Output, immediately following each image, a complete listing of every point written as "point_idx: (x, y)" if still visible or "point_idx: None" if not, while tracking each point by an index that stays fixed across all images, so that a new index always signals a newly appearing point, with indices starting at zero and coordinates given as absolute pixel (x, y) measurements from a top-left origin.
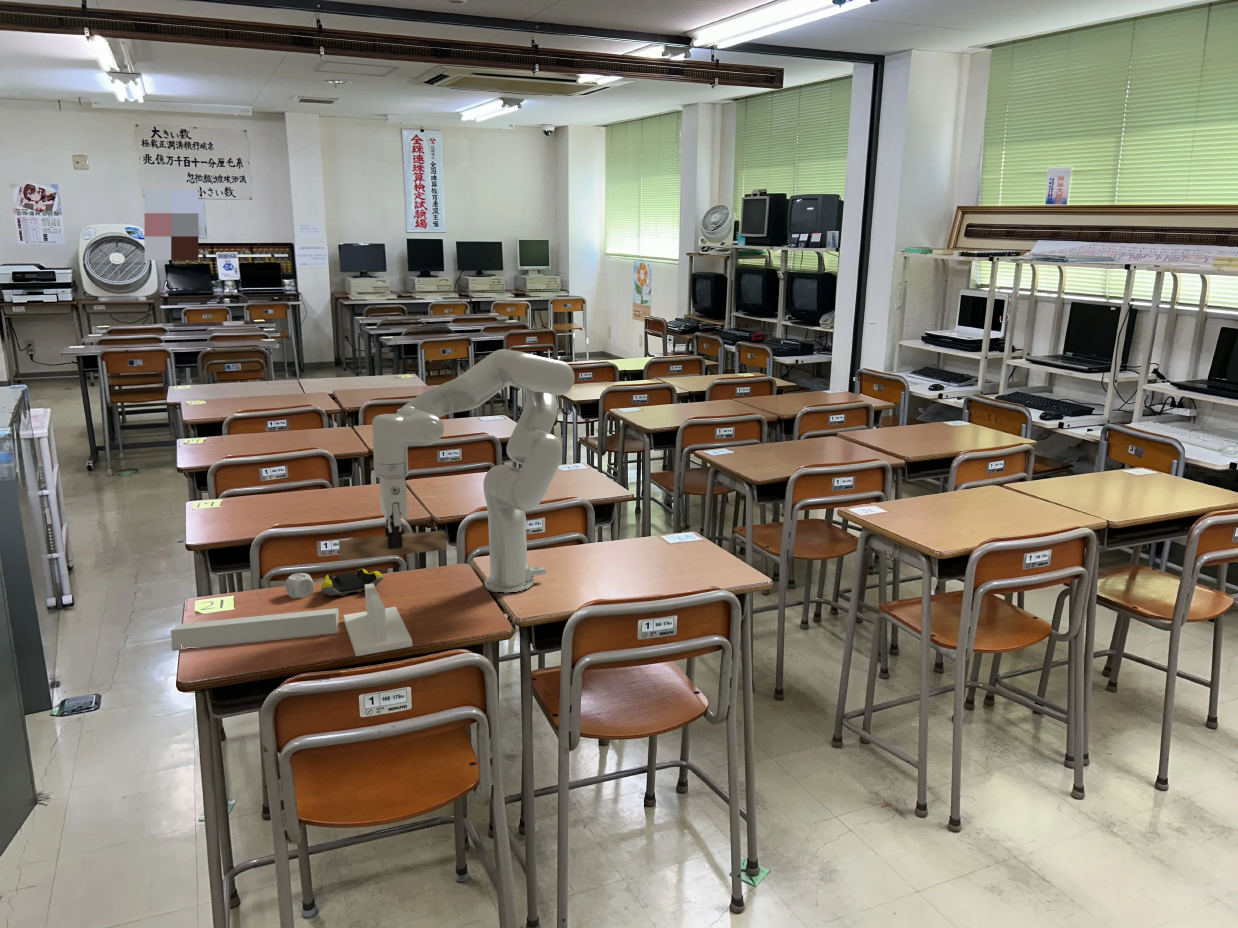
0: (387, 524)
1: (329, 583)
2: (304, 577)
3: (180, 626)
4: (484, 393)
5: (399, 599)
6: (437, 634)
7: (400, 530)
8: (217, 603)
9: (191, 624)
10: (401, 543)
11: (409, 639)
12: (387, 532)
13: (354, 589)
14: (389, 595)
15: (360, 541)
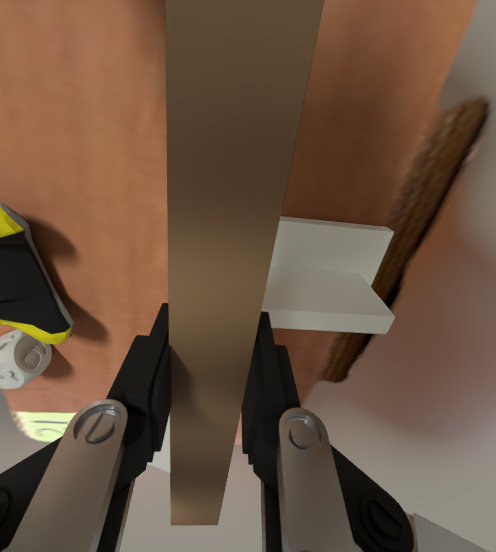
0: (131, 485)
1: (63, 336)
2: (10, 368)
3: (164, 467)
4: None
5: (110, 174)
6: (374, 157)
7: (324, 433)
8: (49, 425)
9: (156, 458)
10: (270, 329)
11: (388, 235)
12: (251, 460)
13: (41, 267)
14: (72, 190)
15: (222, 486)
